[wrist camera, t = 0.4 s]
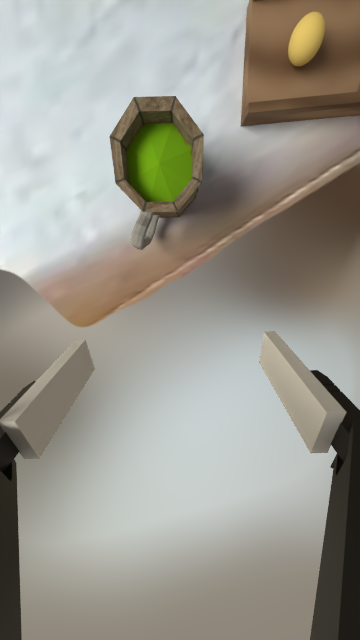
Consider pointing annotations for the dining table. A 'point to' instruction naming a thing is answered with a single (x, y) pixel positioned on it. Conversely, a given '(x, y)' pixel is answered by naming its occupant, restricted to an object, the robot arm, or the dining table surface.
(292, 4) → the lane board
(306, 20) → the ball
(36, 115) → the dining table surface
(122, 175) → the mug
